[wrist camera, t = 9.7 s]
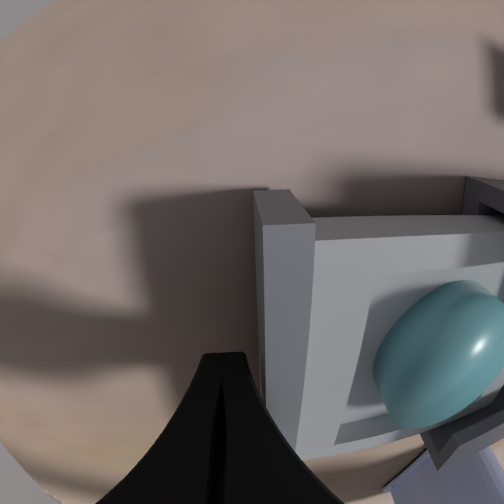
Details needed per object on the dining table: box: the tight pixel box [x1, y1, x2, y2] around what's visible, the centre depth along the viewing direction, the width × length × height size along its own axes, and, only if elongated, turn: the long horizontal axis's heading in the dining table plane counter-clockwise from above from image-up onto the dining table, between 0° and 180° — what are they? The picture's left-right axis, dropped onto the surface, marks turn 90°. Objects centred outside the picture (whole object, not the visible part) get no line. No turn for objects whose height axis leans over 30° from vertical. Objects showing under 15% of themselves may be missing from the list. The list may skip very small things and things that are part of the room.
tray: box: [253, 189, 504, 460], centre depth 9 cm, size 11×12×3 cm
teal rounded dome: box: [373, 280, 504, 429], centre depth 9 cm, size 6×6×2 cm
